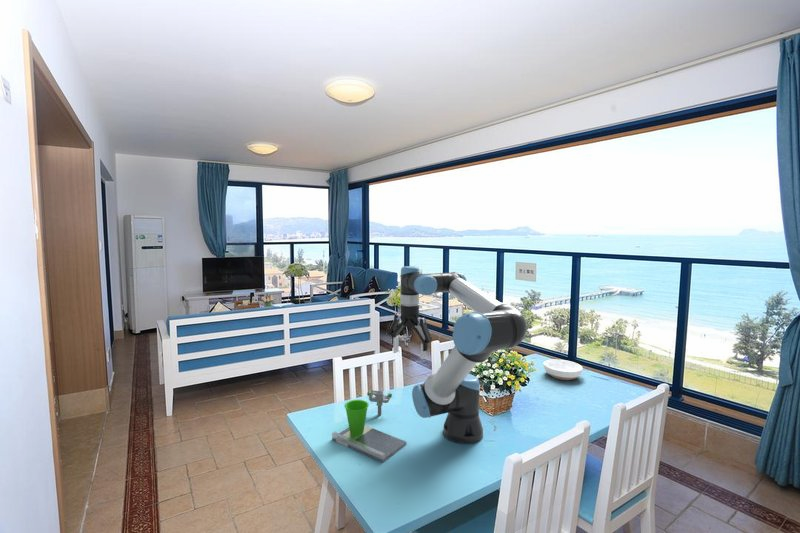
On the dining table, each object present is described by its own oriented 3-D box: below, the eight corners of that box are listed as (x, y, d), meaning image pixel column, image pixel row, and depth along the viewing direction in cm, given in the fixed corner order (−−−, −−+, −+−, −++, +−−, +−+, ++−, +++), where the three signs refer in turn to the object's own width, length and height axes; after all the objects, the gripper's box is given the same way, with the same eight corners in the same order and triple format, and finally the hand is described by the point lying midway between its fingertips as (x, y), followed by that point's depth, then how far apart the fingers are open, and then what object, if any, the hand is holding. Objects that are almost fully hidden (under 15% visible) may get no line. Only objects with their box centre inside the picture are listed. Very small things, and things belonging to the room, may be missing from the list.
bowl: (546, 382, 202) (547, 370, 201) (539, 368, 221) (540, 358, 220) (587, 384, 199) (587, 373, 198) (576, 371, 218) (576, 360, 217)
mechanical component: (390, 418, 162) (390, 394, 161) (366, 415, 164) (366, 392, 163) (392, 414, 165) (392, 392, 164) (368, 412, 167) (368, 389, 166)
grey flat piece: (406, 444, 143) (406, 437, 142) (382, 462, 131) (382, 455, 131) (357, 424, 157) (357, 418, 156) (332, 439, 145) (332, 433, 145)
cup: (340, 435, 146) (340, 407, 145) (352, 424, 155) (352, 398, 153) (361, 440, 143) (361, 412, 142) (372, 429, 151) (372, 401, 150)
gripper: (441, 306, 154) (440, 358, 156) (390, 299, 168) (390, 347, 171) (431, 309, 148) (430, 364, 150) (379, 302, 162) (379, 351, 164)
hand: (409, 355), depth 160 cm, fingers open, 13 cm apart
